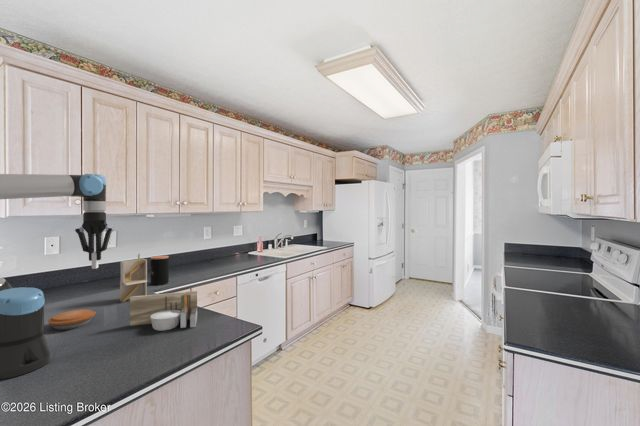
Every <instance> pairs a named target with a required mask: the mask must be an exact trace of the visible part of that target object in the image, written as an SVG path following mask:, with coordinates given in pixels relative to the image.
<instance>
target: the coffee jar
mask: <svg viewBox="0 0 640 426" xmlns="http://www.w3.org/2000/svg"><path fill="white" fill-rule="evenodd" d="M169 257H170V256H169V255H154V256H151V257H150V284H151V286H163V285H167V284H168V283H169V282H170V280H169V278H170V276H169V275H170V274H169V273H170V270H169V269H170V268H169V266H170V264H169V263H170V262H169Z"/></svg>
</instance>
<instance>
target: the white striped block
mask: <svg viewBox="0 0 640 426" xmlns="http://www.w3.org/2000/svg"><path fill="white" fill-rule="evenodd" d="M197 322H198V307H197V308H192V311H191V314H190V319H189V327H190V328H196V327H197Z"/></svg>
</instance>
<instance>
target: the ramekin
mask: <svg viewBox="0 0 640 426" xmlns="http://www.w3.org/2000/svg"><path fill="white" fill-rule="evenodd" d="M180 316H181V312H180V311H178V310H164V311H160V312H156V313H154V314H152V315H151V317H150V319H151V322H152V323H151V325H152V326H151V327H152V329H153V330H155V331H158V332H159V331H162V332H163V331H169V330H172V329H174V328H177V327H178V326H179V325H180V324H179V323H180V321H181V320H180Z"/></svg>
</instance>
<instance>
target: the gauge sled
mask: <svg viewBox="0 0 640 426" xmlns="http://www.w3.org/2000/svg"><path fill="white" fill-rule="evenodd" d="M188 321H189V319H188V306H187V294H184V306H183V308H182V311H181V320H180V329H185V328H187V325H188Z"/></svg>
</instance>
